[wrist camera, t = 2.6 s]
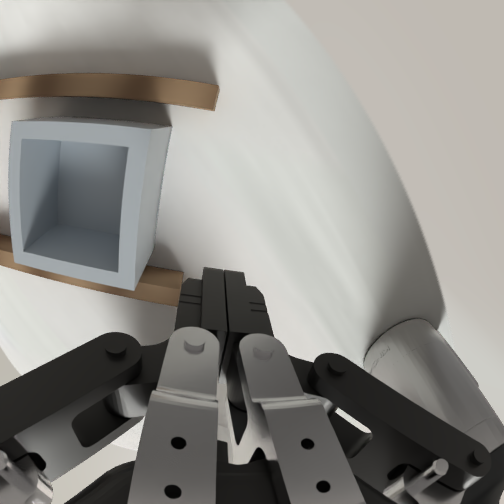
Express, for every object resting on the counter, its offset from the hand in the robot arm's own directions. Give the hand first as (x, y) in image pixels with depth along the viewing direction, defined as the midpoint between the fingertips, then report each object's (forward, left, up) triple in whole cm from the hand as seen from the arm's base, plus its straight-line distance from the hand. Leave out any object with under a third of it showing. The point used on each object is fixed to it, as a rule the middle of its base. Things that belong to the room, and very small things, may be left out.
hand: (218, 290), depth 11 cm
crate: (+9, -1, -11) cm, 14 cm away
